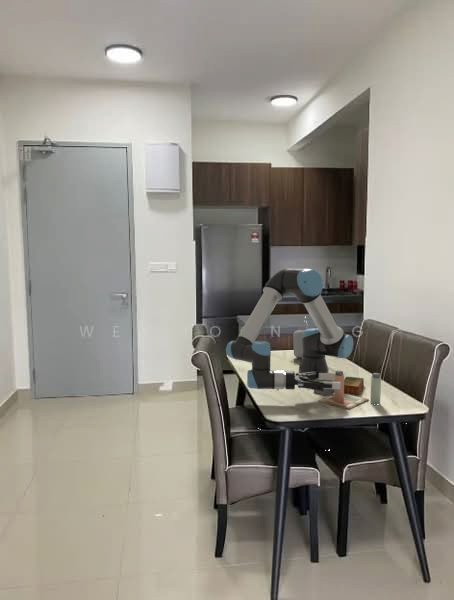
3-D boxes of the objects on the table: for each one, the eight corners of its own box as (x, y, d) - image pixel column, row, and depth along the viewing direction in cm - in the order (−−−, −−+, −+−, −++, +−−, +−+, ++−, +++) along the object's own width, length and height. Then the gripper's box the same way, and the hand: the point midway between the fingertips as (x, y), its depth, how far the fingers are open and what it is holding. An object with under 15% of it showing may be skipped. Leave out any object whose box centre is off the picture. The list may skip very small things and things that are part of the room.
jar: (290, 355, 280) (290, 314, 277) (314, 354, 281) (314, 314, 278) (296, 362, 261) (297, 318, 259) (322, 361, 262) (322, 318, 259)
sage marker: (373, 401, 190) (374, 372, 189) (381, 403, 187) (382, 373, 186) (368, 403, 187) (369, 373, 186) (377, 405, 184) (378, 375, 183)
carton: (339, 393, 202) (339, 384, 202) (345, 384, 217) (345, 375, 216) (359, 396, 199) (359, 386, 198) (363, 386, 213) (364, 377, 213)
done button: (322, 385, 205) (322, 380, 205) (328, 386, 203) (328, 382, 203) (318, 386, 203) (318, 382, 203) (324, 388, 201) (324, 383, 200)
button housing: (321, 389, 207) (321, 384, 207) (332, 392, 203) (333, 386, 203) (313, 392, 203) (313, 386, 203) (325, 394, 199) (325, 389, 199)
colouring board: (338, 393, 201) (338, 391, 201) (368, 400, 191) (368, 398, 191) (318, 401, 190) (318, 399, 190) (348, 409, 180) (348, 407, 180)
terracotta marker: (337, 399, 191) (337, 369, 189) (345, 400, 188) (345, 371, 187) (332, 401, 188) (332, 371, 187) (340, 403, 185) (340, 373, 184)
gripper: (283, 380, 201) (332, 381, 200) (286, 398, 176) (342, 399, 175) (283, 363, 200) (332, 364, 199) (286, 379, 176) (343, 380, 174)
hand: (337, 380), depth 187 cm, fingers open, 13 cm apart
